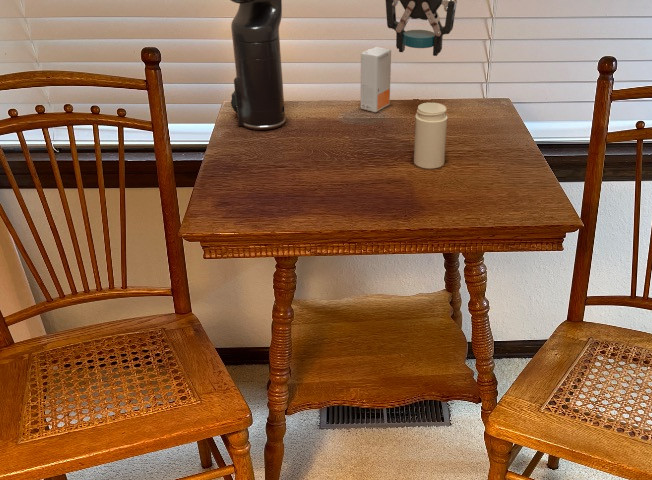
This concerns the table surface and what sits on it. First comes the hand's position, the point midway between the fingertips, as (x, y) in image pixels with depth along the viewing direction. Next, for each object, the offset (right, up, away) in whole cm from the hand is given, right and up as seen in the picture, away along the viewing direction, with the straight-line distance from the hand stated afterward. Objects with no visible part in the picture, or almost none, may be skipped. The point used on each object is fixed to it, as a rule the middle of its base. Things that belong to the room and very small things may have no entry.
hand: (418, 52), depth 152 cm
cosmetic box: (-9, -6, +16) cm, 19 cm away
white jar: (+2, -24, -6) cm, 25 cm away
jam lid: (0, +2, -2) cm, 3 cm away
